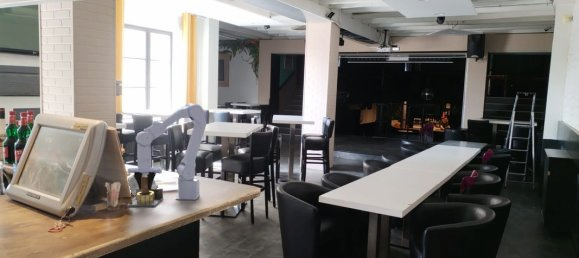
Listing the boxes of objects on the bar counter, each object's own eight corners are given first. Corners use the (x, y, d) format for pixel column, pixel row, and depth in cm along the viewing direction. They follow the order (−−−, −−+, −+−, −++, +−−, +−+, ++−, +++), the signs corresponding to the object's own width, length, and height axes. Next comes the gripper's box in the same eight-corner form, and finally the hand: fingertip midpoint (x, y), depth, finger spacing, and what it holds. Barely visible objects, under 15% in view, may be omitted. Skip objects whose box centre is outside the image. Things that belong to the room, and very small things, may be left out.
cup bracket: (163, 199, 196) (162, 188, 195) (155, 207, 184) (154, 196, 183) (137, 198, 196) (136, 188, 195) (127, 206, 184) (126, 195, 183)
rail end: (150, 195, 191) (149, 176, 190) (148, 197, 188) (148, 177, 186) (142, 195, 191) (141, 176, 189) (140, 198, 187) (139, 178, 186)
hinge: (133, 196, 199) (127, 176, 199) (126, 198, 201) (120, 178, 201) (159, 188, 214) (153, 169, 214) (152, 190, 216) (147, 171, 216)
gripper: (124, 160, 183) (125, 191, 185) (158, 161, 183) (158, 191, 185) (130, 157, 190) (131, 186, 192) (162, 157, 190) (163, 187, 192)
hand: (145, 188), depth 189 cm, fingers closed on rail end, 3 cm apart
